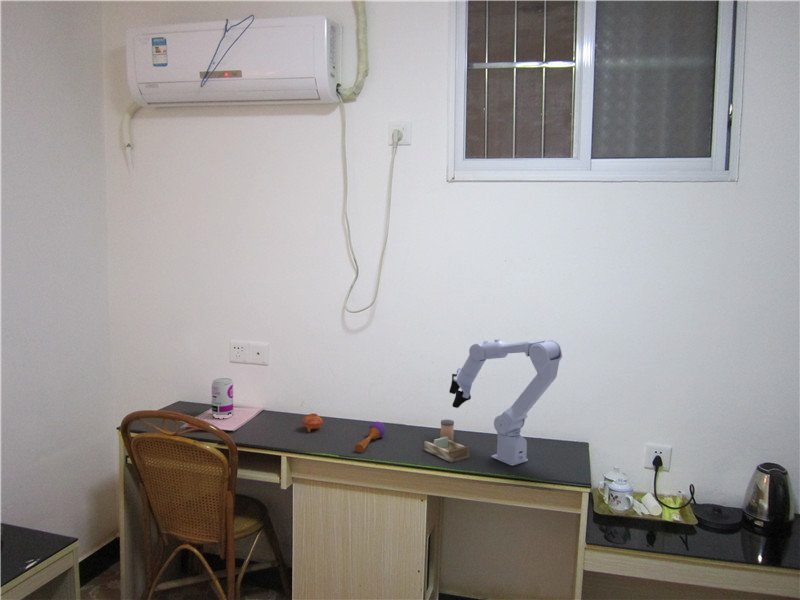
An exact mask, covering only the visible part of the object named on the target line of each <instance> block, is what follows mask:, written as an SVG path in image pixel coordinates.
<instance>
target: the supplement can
mask: <svg viewBox="0 0 800 600" xmlns="http://www.w3.org/2000/svg"><path fill="white" fill-rule="evenodd" d="M212 413H213V414H216V415H229V414H232V413H233V414H234V382H233V380H232V378H228V377H221V378H219V377H218V378H215V379H213V381H212V382H211V414H212Z"/></svg>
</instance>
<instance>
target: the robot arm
mask: <svg viewBox="0 0 800 600" xmlns="http://www.w3.org/2000/svg"><path fill="white" fill-rule="evenodd" d="M468 352H469V355H468V357H467V359H466V360H465V362H464V364H463V366H462V367H458V369H457V370H456V373H452V374H451V384H450V387H449V394H452V395H455V396H454V400H453V402H452V406H451V407H452V408H456V409H459V407H461V406H462V405H463V404H464V403H466V402H467V401H470V400H471V398H472V396H471V389H472V386H473V383H474V381H475V379H476V378H477V376H478V374H479V373H480V371H481V369H482V368H483V366H484V364H485V362H486V361H487V360H493V359H503V358H506V357H507V356H508V354H519V353H520V354H521V353H524V354H525V355H526V357H529V359H530V361H531V363H532V365H533V367H534V369H535V371H536V373H537V374H535V376H534V377H533V378H532V380H531V381H530V382H529V383H528V385H527V386H526V388H525V389H524V390H523V391H522V392H521V393H520V395H519V396H518V398H517V399H516V400H515V401H514V403H513V404H512V405H511V406H510V407H509V408H507V409H506V410H504V411H503V412H502V414H500V415H498V416H496V417H495V418H494V421H493V426H494V429H495V430H496V433H497V447H496V449H497V450H496V453H495V454H493V455H491V458H493V459H495V460H498V461H500V462H502V463H504V464H507V465H509V466H512V467H513V466H517V465H519V464H522V463H526V462H528V460H529V459H528V458H527V452H528V451H527V450H528V441H527V440H526V438H525V437H523V436H522V435H521V429H523V427H524V425H525V422H526V419H527V418H528V413H529V411H530V410H531V409H532V408H533V406H534V405H535V404H536V403H537V402H538V400H539V399H540V398H541V397H542V395H544V393H545V392H546V391H547V389H549V387H550V386H551V385H552V383H554V381H555V379H556V378H557V376H558V371H559V366H560V362H561V359H562V358H563V353H562V349H561V345H560V344H559V343H558V342H557V341H555V340H553V339H550V340H547V341H546V339H545V340H543V339H542V340H541V339H540V340H538V339H537V340H535V339H534V340H532V339H531V340H525V341H519V342H514V343H513V342H511V343H507V342H506V341H504V340H501V339H499V338H497V339H494V341H488V340H485V341H483V342H479V343H475V344H472V345H471V346H470V347H469V349H468ZM459 389H461V390H459Z"/></svg>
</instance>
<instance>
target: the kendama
mask: <svg viewBox="0 0 800 600" xmlns="http://www.w3.org/2000/svg"><path fill="white" fill-rule="evenodd" d="M368 429H369V430H368V436H367V437H366V438H364V439H362V440H361V441H360V442H358V443H357V444H355V446H354V450H355V452H356V453H358V452H362V453H364V452H365V451H366V450H365V449H366V448H367V446H368V445H369V443H370V441H371V440H372V439H374V440H375V439H381V438H382V437H383V436H385V434H386V426H385V424H384V423H383V422H381V421H373V422H372V423H371V424H370V425H369V427H368Z"/></svg>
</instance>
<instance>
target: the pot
mask: <svg viewBox="0 0 800 600" xmlns="http://www.w3.org/2000/svg"><path fill="white" fill-rule="evenodd" d="M301 423H302V425H303V426H304V427H305V428H306V430H307V432H308V433H311V430H314V429H315V430H316V429H318V430H320V429H321V426H322V425H323V423H324V420H323V419H322V418H321V417H320V416H319V415H318V413H309V414H307V415H306V416H304V417H303V418H302V419H301Z"/></svg>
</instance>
